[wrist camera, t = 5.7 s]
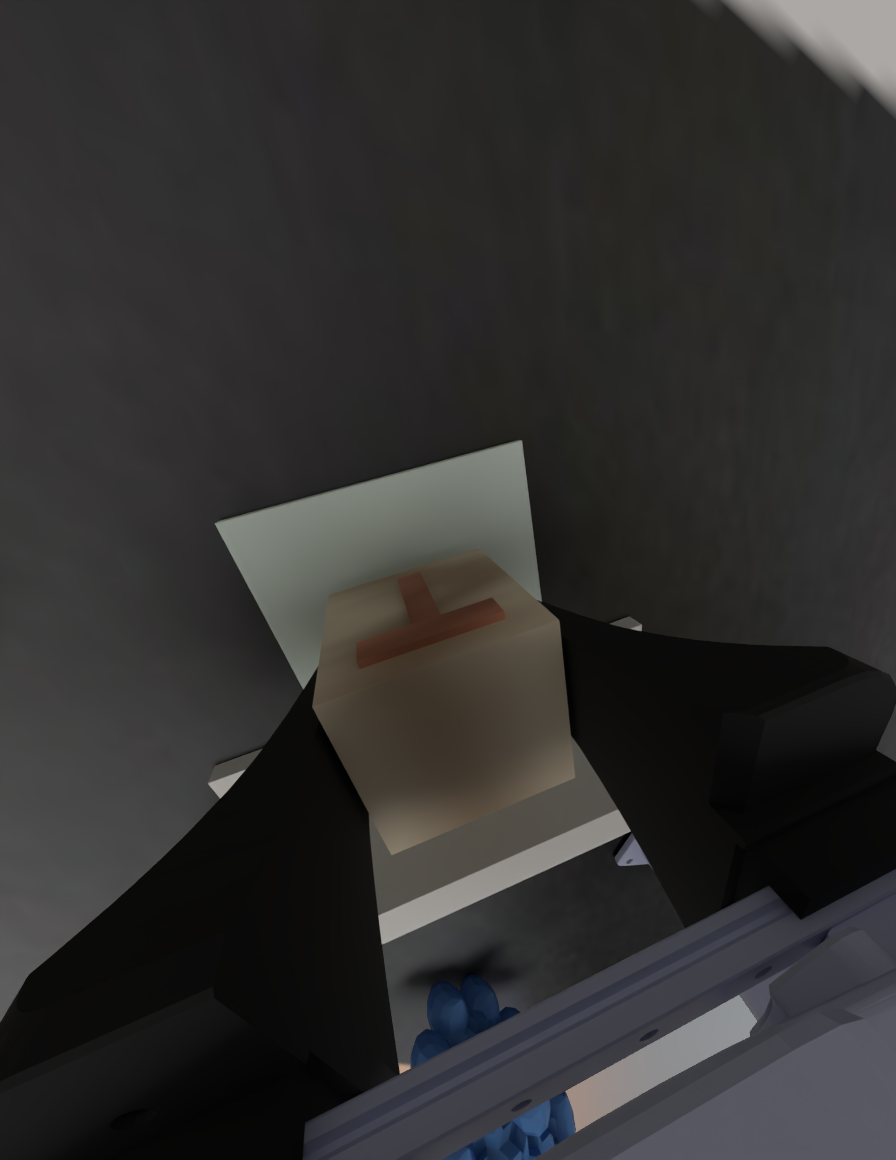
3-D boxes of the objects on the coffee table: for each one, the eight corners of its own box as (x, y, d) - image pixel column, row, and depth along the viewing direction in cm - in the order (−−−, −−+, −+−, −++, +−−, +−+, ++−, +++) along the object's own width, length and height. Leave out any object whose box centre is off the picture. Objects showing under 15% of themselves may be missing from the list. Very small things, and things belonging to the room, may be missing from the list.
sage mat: (516, 440, 12) (521, 440, 12) (545, 663, 16) (550, 669, 16) (219, 520, 11) (215, 523, 10) (335, 741, 15) (334, 748, 15)
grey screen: (638, 612, 17) (775, 698, 11) (636, 704, 19) (748, 809, 14) (202, 770, 14) (107, 981, 8) (268, 852, 16) (227, 1054, 11)
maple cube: (477, 542, 11) (558, 612, 7) (501, 664, 14) (575, 777, 9) (326, 589, 11) (307, 698, 6) (378, 710, 13) (391, 855, 8)
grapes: (555, 942, 28) (682, 1259, 17) (506, 992, 29) (597, 1316, 18) (438, 938, 23) (512, 1371, 12) (386, 998, 24) (412, 1438, 14)
